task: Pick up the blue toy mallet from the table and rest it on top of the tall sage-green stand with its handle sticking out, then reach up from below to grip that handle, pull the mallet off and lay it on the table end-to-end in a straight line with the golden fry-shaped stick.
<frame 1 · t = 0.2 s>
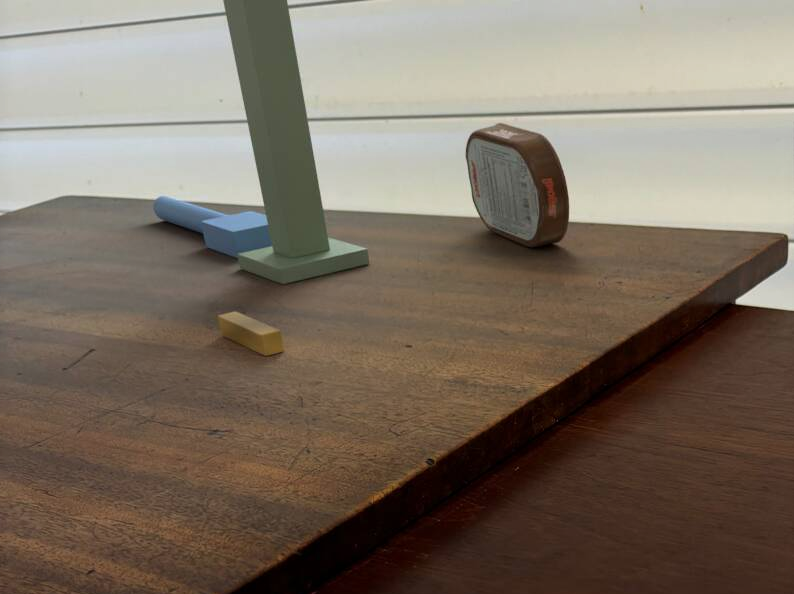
stand: (304, 266, 97), on the table
fry: (252, 343, 80), on the table
tin: (518, 240, 100), on the table
blue toy mallet: (220, 237, 109), on the table
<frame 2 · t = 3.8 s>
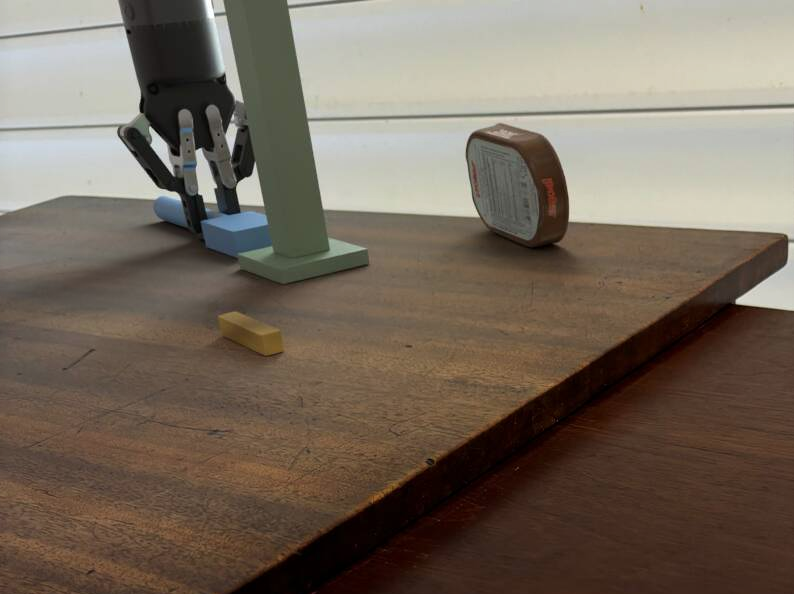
hand: (217, 234, 109), 0 cm above the table, tool pointing down, fingers closed on blue toy mallet, 2 cm apart
blue toy mallet: (220, 237, 109), on the table, touching gripper
everything else where it was.
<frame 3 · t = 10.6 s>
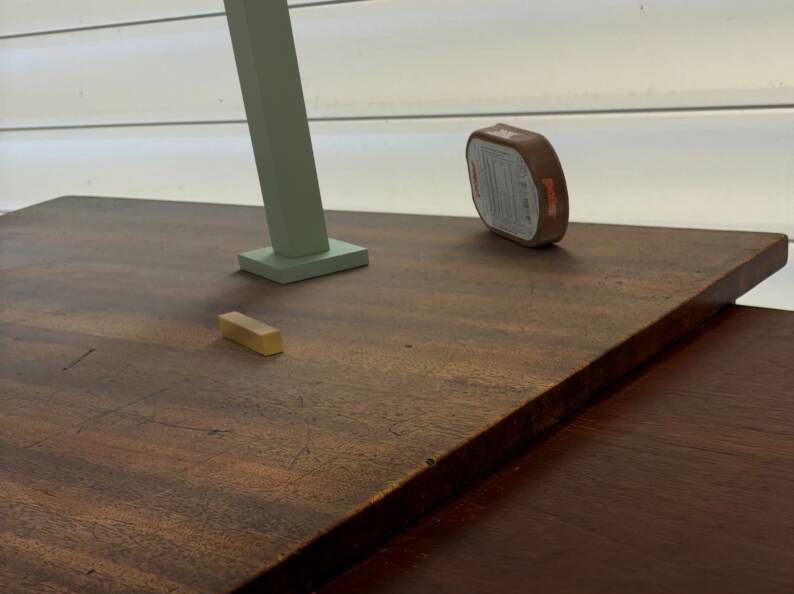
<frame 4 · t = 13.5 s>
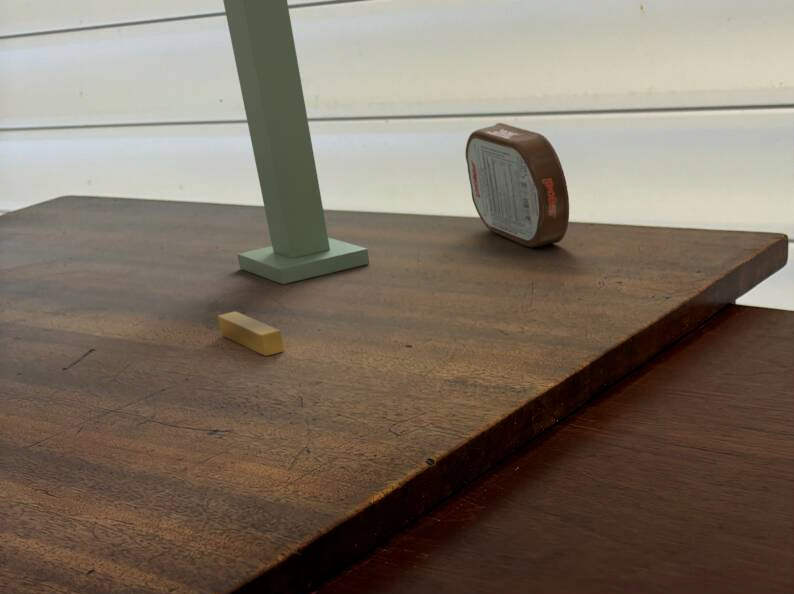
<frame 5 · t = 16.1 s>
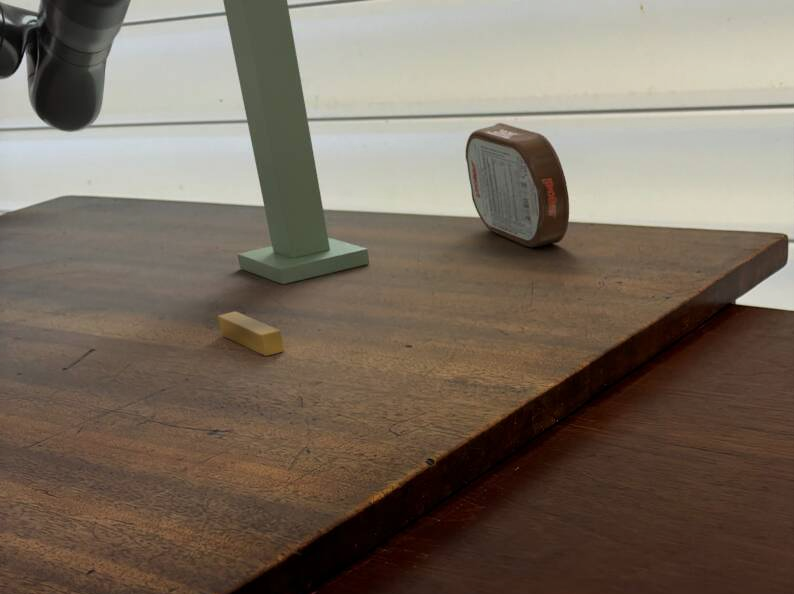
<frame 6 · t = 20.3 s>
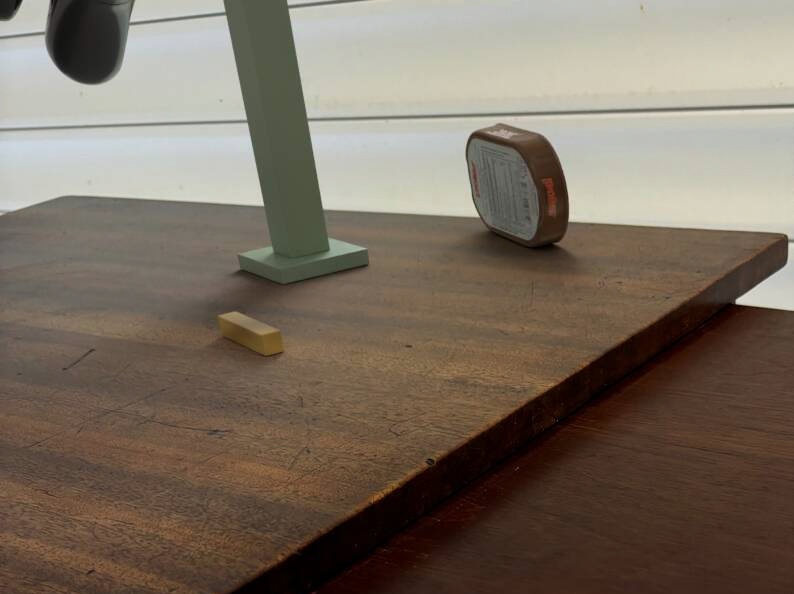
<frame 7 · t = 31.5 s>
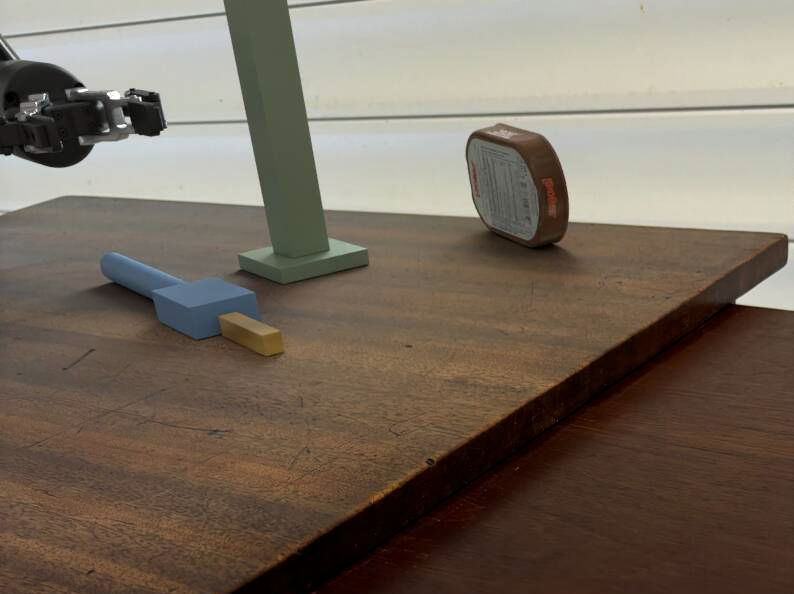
hand: (104, 128, 86), 12 cm above the table, tool horizontal, fingers open, 7 cm apart
blue toy mallet: (177, 307, 89), on the table
everything else where it was.
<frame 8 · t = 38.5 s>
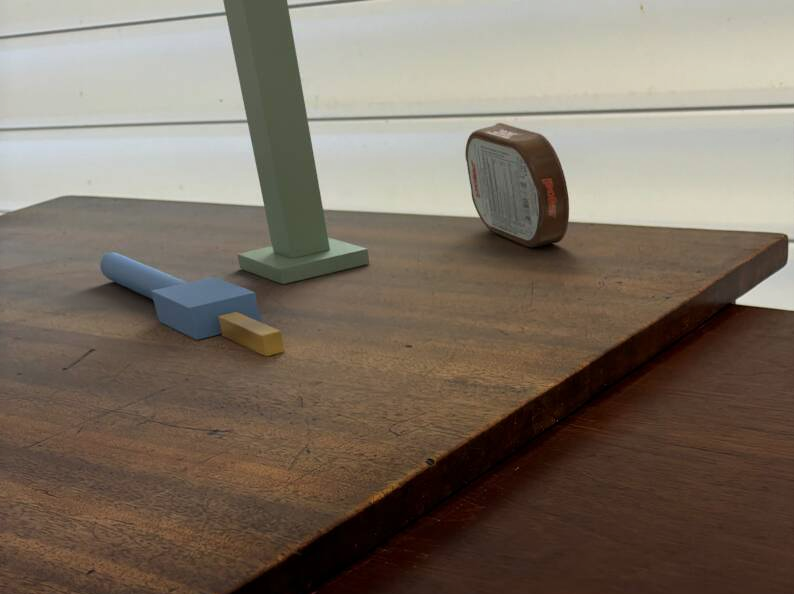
nothing on the table moved.
at the end: blue toy mallet inside the target area on the table beside the fry (1.0 cm from its centre), on the table; blue toy mallet tilted 0°; the gripper is holding nothing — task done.
